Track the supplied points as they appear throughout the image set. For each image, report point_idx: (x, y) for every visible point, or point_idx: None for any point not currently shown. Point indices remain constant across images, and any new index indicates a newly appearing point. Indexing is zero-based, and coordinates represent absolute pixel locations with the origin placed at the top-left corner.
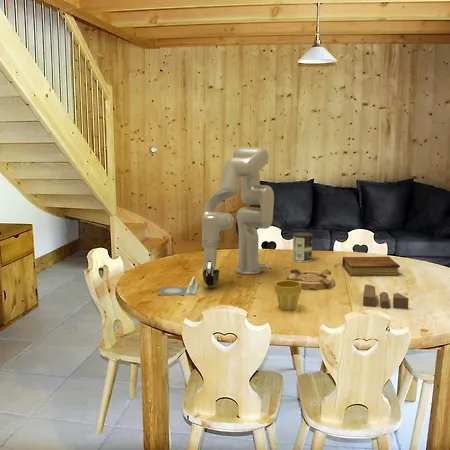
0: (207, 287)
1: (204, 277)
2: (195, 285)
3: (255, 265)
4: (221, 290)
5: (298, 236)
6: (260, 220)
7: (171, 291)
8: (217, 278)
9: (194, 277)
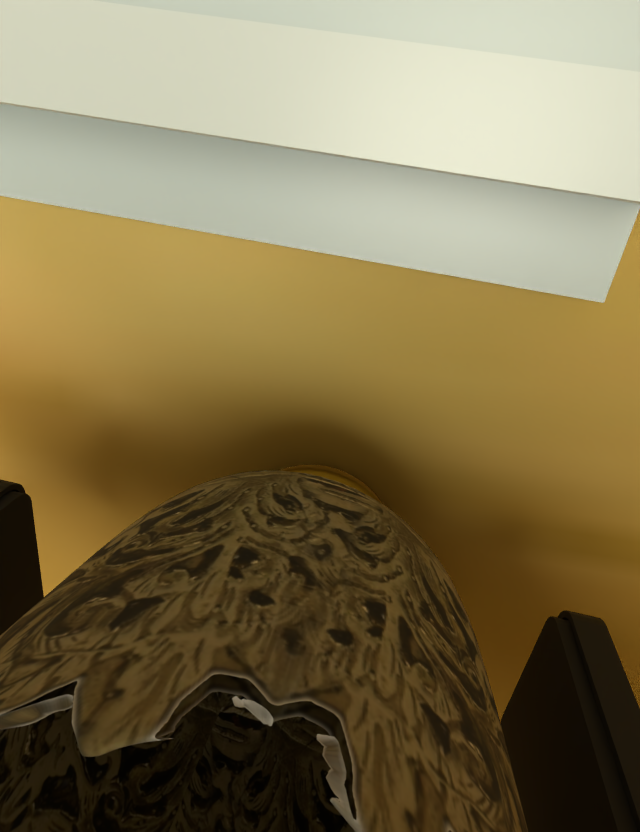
0: (298, 465)
1: (100, 559)
2: (464, 205)
3: None
4: None
5: None
6: None
7: None
8: (151, 792)
9: (595, 184)
